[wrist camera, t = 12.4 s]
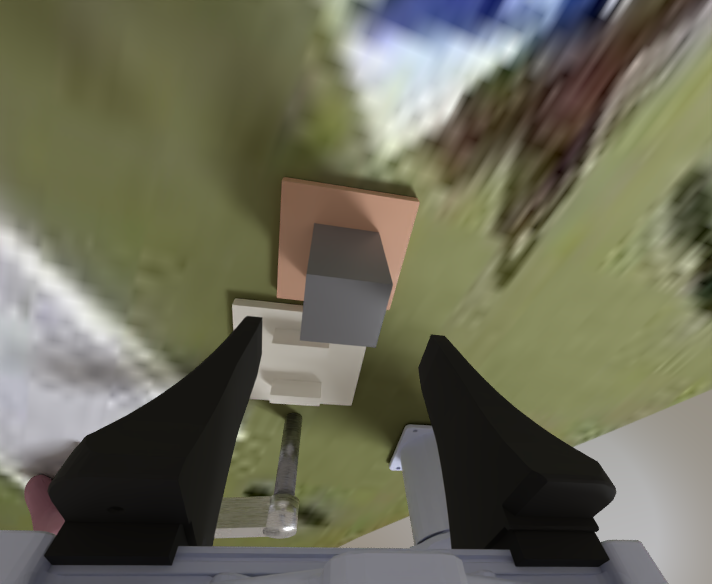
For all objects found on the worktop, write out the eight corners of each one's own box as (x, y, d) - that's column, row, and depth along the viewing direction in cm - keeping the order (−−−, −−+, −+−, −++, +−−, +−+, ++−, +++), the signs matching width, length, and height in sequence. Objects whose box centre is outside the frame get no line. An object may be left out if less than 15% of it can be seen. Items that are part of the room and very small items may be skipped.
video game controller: (74, 473, 38) (62, 547, 34) (24, 477, 34) (4, 560, 30) (133, 445, 35) (126, 522, 31) (85, 446, 31) (72, 533, 28)
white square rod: (100, 497, 23) (82, 530, 22) (298, 493, 25) (295, 523, 23) (111, 512, 25) (95, 544, 23) (299, 508, 26) (296, 537, 24)
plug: (379, 232, 20) (393, 284, 15) (366, 286, 22) (375, 347, 17) (314, 223, 19) (306, 274, 14) (308, 279, 22) (299, 340, 17)
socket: (372, 312, 24) (383, 389, 19) (344, 426, 32) (345, 506, 26) (235, 298, 23) (199, 375, 17) (240, 420, 31) (217, 503, 25)
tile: (417, 197, 20) (419, 202, 19) (388, 303, 24) (389, 310, 23) (283, 176, 19) (281, 180, 18) (278, 291, 23) (276, 297, 22)
